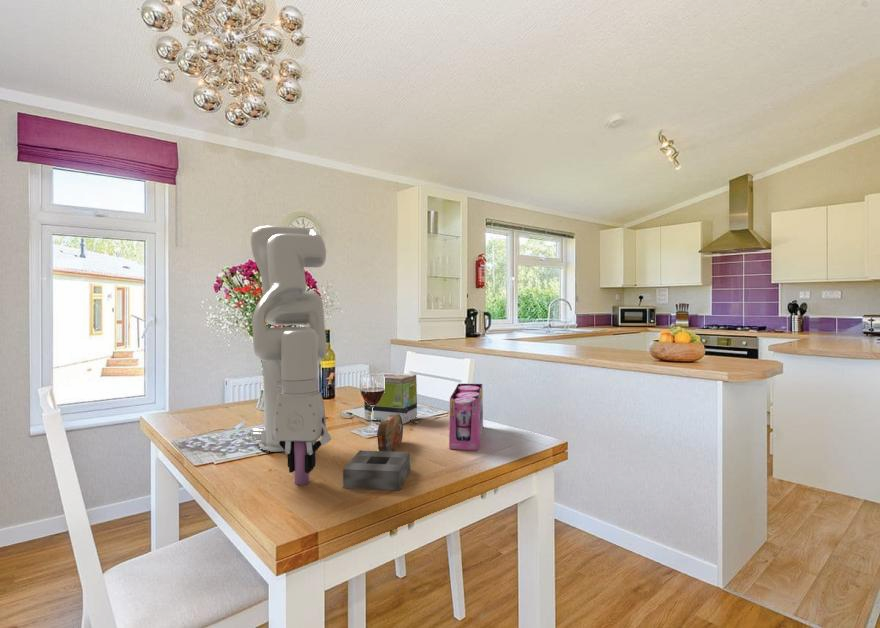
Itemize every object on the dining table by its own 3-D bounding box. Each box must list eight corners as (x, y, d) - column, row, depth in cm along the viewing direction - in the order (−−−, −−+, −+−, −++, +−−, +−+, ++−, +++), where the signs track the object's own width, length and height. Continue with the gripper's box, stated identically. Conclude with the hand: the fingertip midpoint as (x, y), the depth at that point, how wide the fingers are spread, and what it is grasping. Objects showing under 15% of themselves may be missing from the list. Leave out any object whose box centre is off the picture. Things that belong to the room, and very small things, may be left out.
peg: (292, 484, 98) (291, 438, 98) (298, 479, 101) (297, 434, 101) (305, 485, 98) (304, 438, 97) (311, 479, 101) (310, 434, 100)
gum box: (478, 452, 118) (477, 400, 117) (447, 451, 119) (447, 399, 119) (483, 427, 142) (483, 383, 141) (457, 426, 143) (457, 383, 142)
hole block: (343, 487, 96) (342, 469, 96) (360, 467, 108) (360, 450, 108) (399, 490, 95) (398, 471, 95) (410, 469, 107) (409, 452, 106)
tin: (387, 458, 114) (387, 425, 114) (375, 458, 114) (374, 424, 114) (404, 440, 128) (403, 410, 128) (393, 440, 129) (393, 410, 129)
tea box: (418, 417, 154) (417, 373, 153) (403, 425, 144) (403, 378, 144) (379, 413, 160) (379, 371, 159) (363, 420, 151) (362, 375, 150)
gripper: (255, 389, 96) (257, 475, 97) (330, 390, 94) (331, 478, 95) (272, 382, 104) (274, 463, 104) (342, 383, 101) (343, 465, 102)
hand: (301, 469), depth 99 cm, fingers closed on peg, 3 cm apart
